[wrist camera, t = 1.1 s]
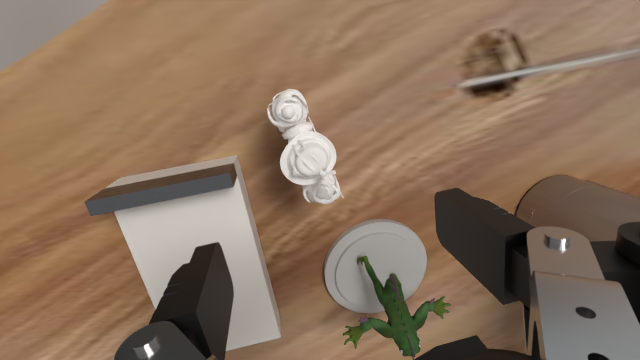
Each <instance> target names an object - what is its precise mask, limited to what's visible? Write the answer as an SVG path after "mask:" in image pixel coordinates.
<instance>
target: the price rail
mask: <svg viewBox="0 0 640 360" xmlns="http://www.w3.org/2000/svg"><path fill="white" fill-rule="evenodd" d="M236 178H237V173H236V169H235V165H234V163H231V164H226V165H221V166H216V167H211V168H206V169H201V170H196V171H191V172H186V173H181V174H176V175H171V176H166V177H161V178H155V179H150V180H145V181H140V182H135V183H130V184H125V185H120V186H115V187H110V188H105V189H103V190H101V191H100V192H98V193H97V194H96V195H94V196H93V197H91V198H90V199H88V200H87V201H85V204H86V206H87V209H88V211H89V213H90V215H91V216H94V215H99V214H104V213H109V212H113V211H118V210H123V209H128V208H133V207H138V206H143V205H148V204H153V203H158V202H163V201H167V200H172V199H177V198H182V197H187V196H192V195H197V194H202V193H207V192H212V191H217V190H222V189H226V188H231V187H234V184H235V181H236Z"/></svg>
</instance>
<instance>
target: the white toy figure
mask: <svg viewBox="0 0 640 360" xmlns="http://www.w3.org/2000/svg"><path fill="white" fill-rule="evenodd" d="M279 94H280V96H279V97H278V98H276V99H275V100H274V98H275V97H276V96H278V95H279ZM270 105H272V113H273V116H274V118H275V120H276V121H277V122H276V121H275V120H274V118H273V116H272V113H271V110H270ZM305 105H306V107H305ZM268 106H269V108H268V109H267V114H268V118H269V120H270V121H271V123H272V124H274V125H275V126H277V127H278V129H279V131H280V132H283V134H282V136H283V138H284V139H288V145H287V146H286V147H285V149H284V151H283V152H282V155H281V159H280V166H281V170H282V172H283V174H284V175H285V176H286V178H287V179H289V180H290V181H291V182H293V183H295V184H299V185H303V195H304V198H305V199H306V200H307V201H308V202H309V203H310V201H311V202H315V201H316V202H318V203H322V204H330V203H332V202H333V201H335V200H336V199H337V198H338V197H340V195H341V196H342V194H341V193H340V187H339V183H338V182H337V179H336V177H335V175H334V174H336V172H335V171H334V170H333V171H331V170H332V168H333V167H334V165H335V163H336V151H335V148H334V146H333V144H332V143H331V142H330V141H329V140H328V139H327V138H326V137H325V136H323V135H322V134H320V133H317V132H316V131H315V129H314V125H313V123H312V122H311V120H310V118H309V116H308V120H309V122H306V117H307V114H308V107H307V103H306V101H305V99H304V97H303V95H302V94H301V93H300V92H299V91H297V90H294V89H287V90H285V91H282V92H280V93H278V94H277V95H275V96H274V97H273V101H272V103H271V104H269V105H268ZM269 111H270V112H269ZM270 114H271V115H270ZM332 174H333V175H334V177H335V179H334V177H333V175H332ZM335 180H336V182H335ZM336 184H337V187H336ZM306 191H307V192H308V194H307V192H306ZM335 192H336V193H335ZM306 195H307V196H308V195H309V196H308V198H309V200H310V201H309V200H308V198H307V196H306ZM342 197H343V196H342ZM310 198H311V199H312V200H314V201H312V200H311V199H310ZM343 198H344V197H343Z"/></svg>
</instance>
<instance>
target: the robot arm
mask: <svg viewBox="0 0 640 360" xmlns="http://www.w3.org/2000/svg"><path fill="white" fill-rule="evenodd" d="M435 217H436V232H437V236H438V239H439V241H440V243H441V244H442V246H443V247H444V248H445V249H446V250H447V251H448V252H450V253H451V254H452V255H453V256H454V257H455V258H456V259H457V260H458V261H459V262H460V263H461V264H462V265H463V266H464V267H465V268H466V269H467V270H468V271H469V272H470V273H471V274H472V275H473V276H474V277H475V278H476V279H477V280H478V281H479V282H480V283H482V284H483V285H484V286H485V287H486V288H487V289H488V290H489V291H490V292H491V293H492V294H493V295H494V296H495V297H496V298H497V299H498V300H499V301H500V302H501V303H502V304H503V305H504V304H508V303H512V302H515V301H519V300H520V301H521V302H522V303H523V310H522V316H523V331H524V346H525V354H523V353H519V352H515V351H509V350H501V349H487V348H486V346H485V345H484V344H483V343H482V341H481V340H480V339H479V338H478V336H477V335H476V336H472V337H468V338H465V339H461V340H458V341H454V342H450V343H447V344H443V345H440V346H436V347H435V348H433V349H431V350H430V351H428V352H426V353H424V354H423V355H421V356H419V357H418V358H416V359H414V360H640V198H639V197H636V196H633V195H630V194H627V193H624V192H621V191H618V190H615V189H612V188H609V187H606V186H603V185H600V184H597V183H594V182H591V181H588V180H587V181H583V180H580V179H577V178H574V177H571V176H567V175H557V176H552V177H549V178H547V179H544V180H542V181H541V182H539V183H538V184H536V185H535V186H534V187H533V188H532V189H530V190H529V191H528V193H527V194H526V195H525V196H524V198H523V199H522V201H521V203H520V205H519V207H518V210H517V213H516V216H514V215H513V214H511V213H510V214H509V213H508V212H507V211H506V210H504V209H502V208H499V207H498V206H497V205H495V204H493V203H491V202H490V201H487V200H484V199H480V198H476V197H473V196H471V195H469V194H467V193H466V192H464V191H462V190H461V189H459V188H453V189H449V190H444V191H440V192H437V193H436V194H435ZM233 298H234V289H233V282H232V278H231V275H230V272H229V269H228V266H227V263H226V260H225V256H224V253H223V250H222V247H221V245H220V243H219V242H215V243H211V244H207V245H202V246H198V247H196V248H195V250H194V253H193V255H192V257H191V260H190V262H189V263H186V264H183V265H182V266H181V267H180V268H179V269H178V270H177V271H176V272H175V273H174V274H173V275H172V276H171V278H170V280H169V283H168V285H167V288H166V289H165V291H164V293H163V297H161V299H160V302H159V304H158V306H157V308H156V310H155V312H154V314H153V316H152V319H151V321H150V323H149V325H147V326H144V327H142V328H141V329H139V330H137V331H136V332H134V333H133V334H132V335H130V336H129V337H128V338H127V339H126V340H125V341H124V342H123V343H122V344H121V345H120V347H119V348H118V350H117V352H116V354H115V357H114V360H224V359H225V352H226V345H227V338H228V332H229V325H230V318H231V311H232V305H233Z"/></svg>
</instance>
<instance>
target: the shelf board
mask: <svg viewBox="0 0 640 360" xmlns="http://www.w3.org/2000/svg"><path fill="white" fill-rule="evenodd" d="M231 163H234V165H235V169H236V173H237V178H236V181H235V184H234V187H231V188H226V189H222V190H217V191H212V192H207V193H202V194H197V195H192V196H187V197H182V198H177V199H172V200H167V201H163V202H158V203H153V204H148V205H143V206H138V207H133V208H128V209H123V210H118V211H114V213H115V215H116V218H117V220H118V223H119V225H120V227H121V230H122V232H123V234H124V237H125V239H126V241H127V244H128V246H129V249H130V251H131V253H132V256H133V258H134V260H135V263H136V265H137V267H138V270H139V272H140V274H141V277H142V279H143V282H144V284H145V286H146V289H147V291H148V293H149V296H150V298H151V300H152V303H153V305H154V308H155V310H156V308H157V306H158V304H159V302H160V299H161V297H163V293H164V291H165V289H166V288H167V285H168V283H169V280H170V278H171V276H172V275H173V274H174V273H175V272H176V271H177V270H178V269H179V268H180V267H181V266H182V265H183V264H186V263H189V262H190V260H191V257H192V255H193V253H194V250H195V248H196V247H198V246H202V245H207V244H211V243H215V242H219V243H220V245H221V247H222V250H223V253H224V256H225V260H226V263H227V266H228V269H229V272H230V275H231V278H232V282H233V289H234V298H233V305H232V311H231V318H230V325H229V332H228V338H227V345H226V351H228V350H232V349H237V348H241V347H245V346H249V345H253V344H257V343H261V342H265V341H269V340H273V339H277V338H281V331H280V316H279V312H278V308H277V304H276V300H275V297H274V293H273V289H272V285H271V281H270V278H269V274H268V270H267V266H266V262H265V258H264V255H263V251H262V247H261V243H260V239H259V236H258V232H257V228H256V224H255V220H254V216H253V213H252V209H251V205H250V201H249V197H248V194H247V190H246V186H245V182H244V178H243V175H242V171H241V167H240V163H239V159H238V155H234V156H229V157H224V158H219V159H214V160H209V161H204V162H198V163H193V164H188V165H183V166H178V167H173V168H168V169H163V170H158V171H152V172H147V173H142V174H137V175H132V176H127V177H122V178H119V179H118V180H116V181H115V182H113V183H112V184H110V185H109V186H107V187H106V188H110V187H115V186H120V185H125V184H130V183H135V182H140V181H145V180H150V179H155V178H161V177H166V176H171V175H176V174H181V173H186V172H191V171H196V170H201V169H206V168H211V167H216V166H221V165H226V164H231ZM104 189H105V188H104Z"/></svg>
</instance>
